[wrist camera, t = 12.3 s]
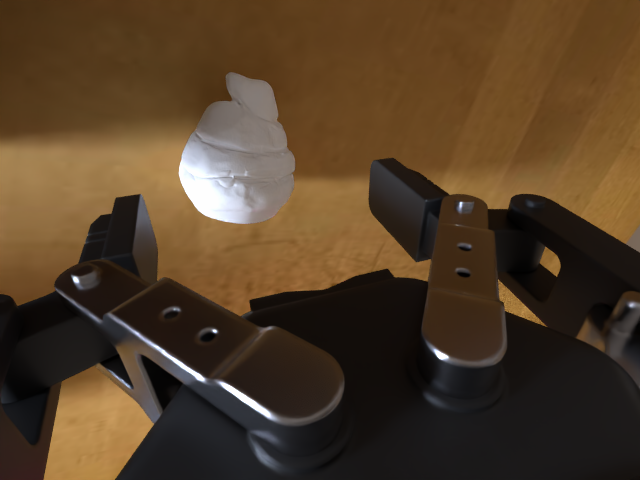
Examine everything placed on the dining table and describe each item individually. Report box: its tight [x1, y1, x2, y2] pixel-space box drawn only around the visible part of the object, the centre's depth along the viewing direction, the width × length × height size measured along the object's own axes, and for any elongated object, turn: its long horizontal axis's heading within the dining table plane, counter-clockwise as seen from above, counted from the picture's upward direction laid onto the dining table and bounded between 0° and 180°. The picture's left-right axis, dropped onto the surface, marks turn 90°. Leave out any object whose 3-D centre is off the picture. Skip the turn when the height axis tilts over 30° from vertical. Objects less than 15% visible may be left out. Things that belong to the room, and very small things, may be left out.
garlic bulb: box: [179, 72, 295, 224], centre depth 18 cm, size 6×6×6 cm
